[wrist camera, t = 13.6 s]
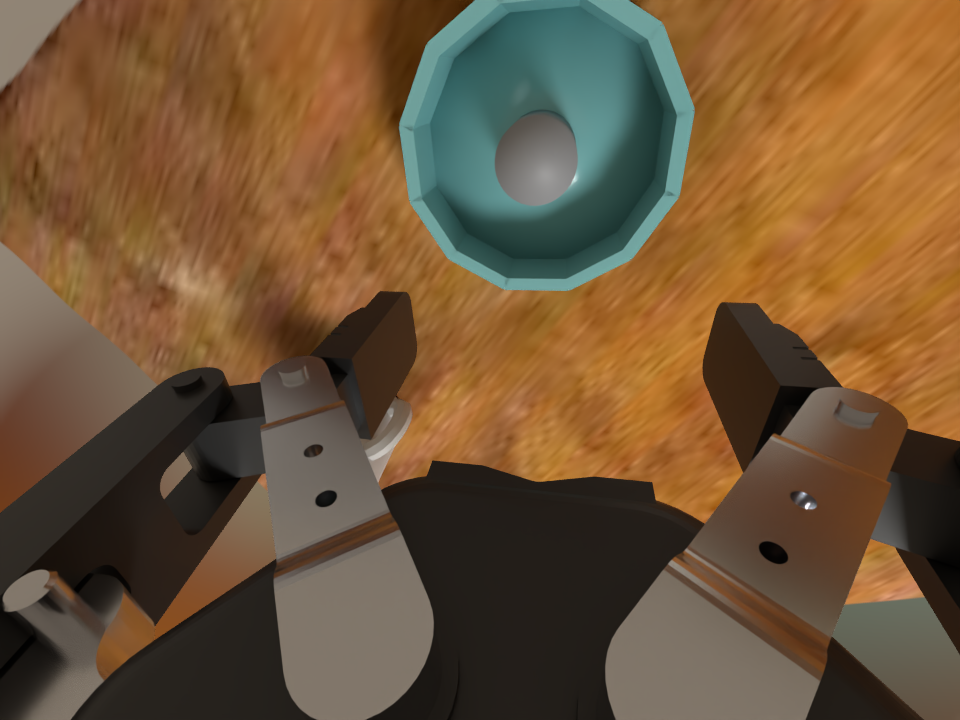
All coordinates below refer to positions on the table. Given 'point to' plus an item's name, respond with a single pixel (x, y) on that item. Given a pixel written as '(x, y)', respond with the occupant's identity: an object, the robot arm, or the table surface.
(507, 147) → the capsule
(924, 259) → the table surface
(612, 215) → the bowl
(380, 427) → the cup
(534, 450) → the table surface
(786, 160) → the table surface
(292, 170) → the table surface
